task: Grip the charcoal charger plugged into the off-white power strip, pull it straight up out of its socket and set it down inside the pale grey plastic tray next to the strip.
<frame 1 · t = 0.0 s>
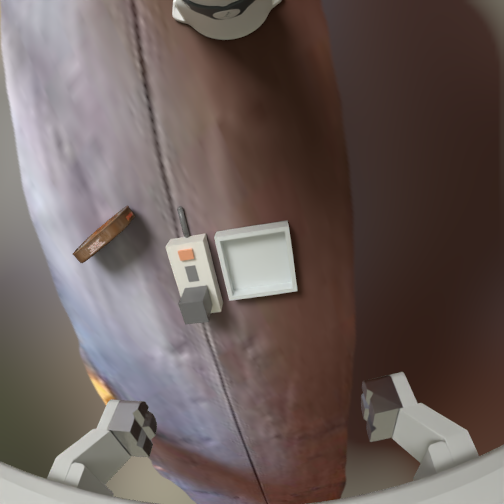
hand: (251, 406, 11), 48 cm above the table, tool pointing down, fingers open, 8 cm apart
charger: (200, 292, 62), point 2 cm above the table, touching power strip
tin: (112, 227, 60), on the table
power strip: (197, 272, 63), on the table
tray: (257, 258, 61), on the table
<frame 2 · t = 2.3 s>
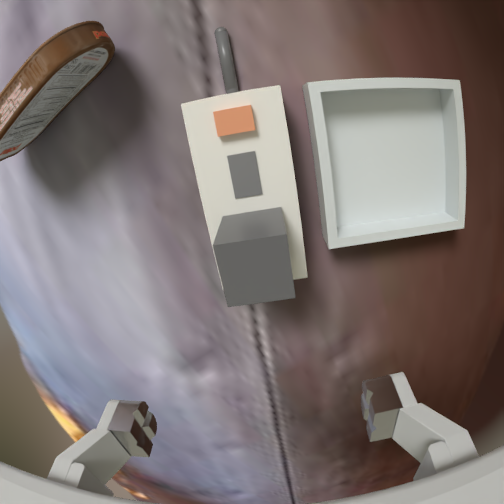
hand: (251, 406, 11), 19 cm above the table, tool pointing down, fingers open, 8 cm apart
charger: (257, 231, 26), point 2 cm above the table, touching power strip
tin: (66, 95, 24), on the table
power strip: (250, 184, 27), on the table
tray: (387, 154, 25), on the table
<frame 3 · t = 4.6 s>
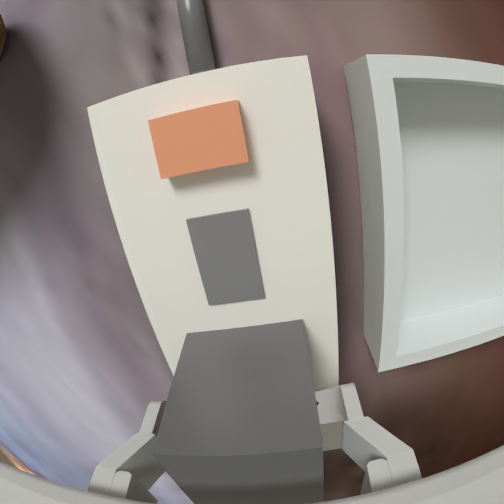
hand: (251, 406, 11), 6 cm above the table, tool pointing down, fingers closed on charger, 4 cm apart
charger: (254, 345, 14), point 2 cm above the table, touching gripper, power strip
power strip: (241, 256, 15), on the table
tray: (477, 201, 13), on the table
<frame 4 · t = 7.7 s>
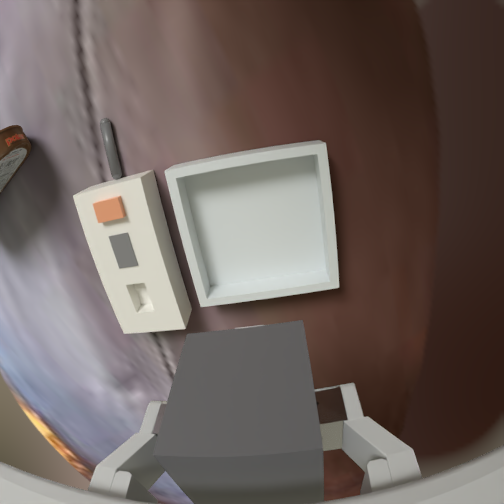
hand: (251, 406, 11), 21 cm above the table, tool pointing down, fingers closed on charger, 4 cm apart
charger: (254, 346, 14), point 17 cm above the table, touching gripper
tin: (7, 174, 28), on the table
power strip: (140, 250, 31), on the table
tray: (257, 220, 30), on the table
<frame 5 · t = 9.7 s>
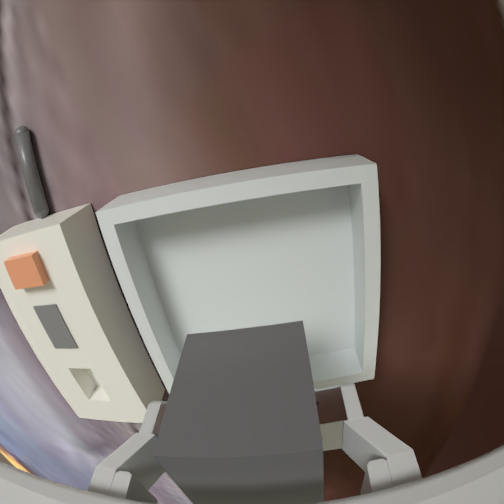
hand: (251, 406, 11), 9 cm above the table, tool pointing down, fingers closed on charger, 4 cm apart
charger: (254, 346, 14), point 5 cm above the table, touching gripper
power strip: (87, 315, 20), on the table
tray: (254, 282, 19), on the table
when the fingers open (6 cm above the table, at t = 11.1 s): charger drops 2 cm, resting on tray.
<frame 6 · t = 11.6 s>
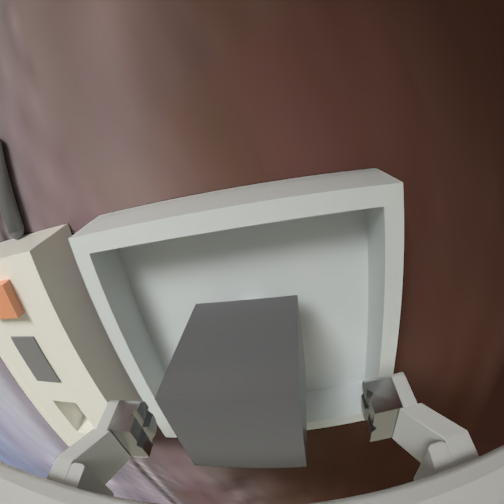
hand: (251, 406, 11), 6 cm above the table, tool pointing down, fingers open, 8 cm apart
charger: (256, 320, 16), point 1 cm above the table, touching tray
power strip: (72, 343, 18), on the table
tray: (254, 314, 16), on the table
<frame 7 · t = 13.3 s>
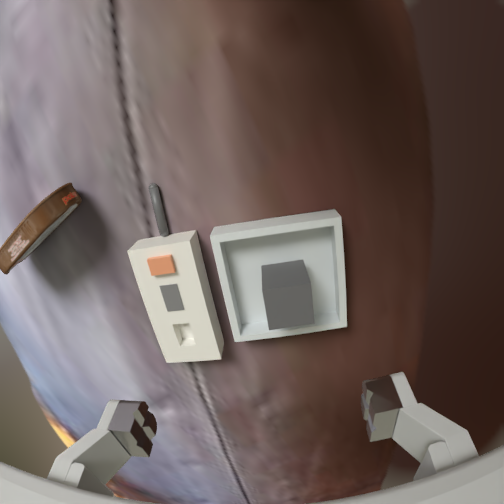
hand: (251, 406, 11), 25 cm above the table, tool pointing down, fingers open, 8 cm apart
charger: (283, 275, 36), point 1 cm above the table, touching tray
tin: (54, 220, 35), on the table
power strip: (182, 294, 38), on the table
tray: (282, 273, 37), on the table
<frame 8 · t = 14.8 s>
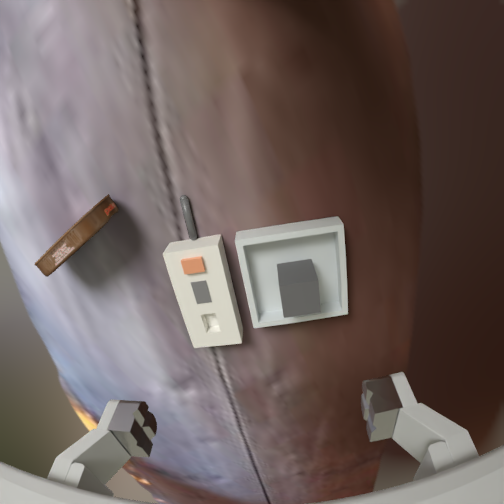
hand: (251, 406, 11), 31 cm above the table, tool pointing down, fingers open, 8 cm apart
charger: (295, 271, 43), resting on tray
tin: (89, 225, 42), on the table
power strip: (208, 288, 45), on the table
tray: (294, 269, 43), on the table
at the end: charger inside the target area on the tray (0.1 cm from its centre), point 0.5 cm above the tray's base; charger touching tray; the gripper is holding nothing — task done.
